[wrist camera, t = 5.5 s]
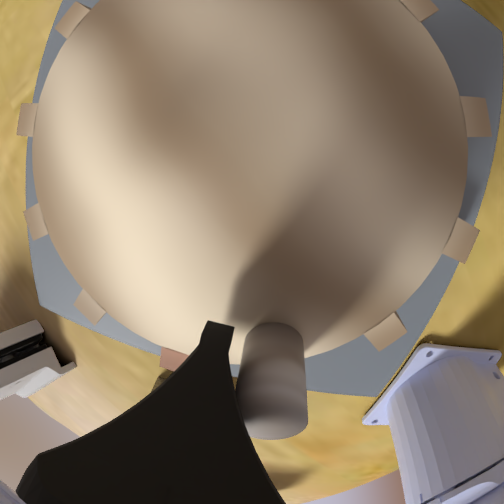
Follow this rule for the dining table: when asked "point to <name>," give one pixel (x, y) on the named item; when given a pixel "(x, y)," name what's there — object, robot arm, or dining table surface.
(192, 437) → the robot arm
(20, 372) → the grey slotted holder
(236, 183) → the sprocket
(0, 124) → the dining table surface
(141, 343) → the base plate
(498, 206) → the dining table surface
